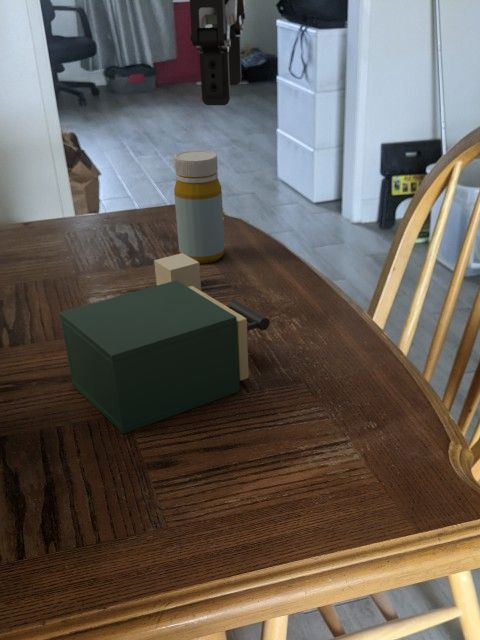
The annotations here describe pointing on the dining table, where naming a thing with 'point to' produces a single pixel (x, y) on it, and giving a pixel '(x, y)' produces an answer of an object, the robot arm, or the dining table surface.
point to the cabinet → (151, 353)
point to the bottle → (199, 206)
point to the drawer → (241, 327)
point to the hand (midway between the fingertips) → (223, 93)
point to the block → (178, 270)
